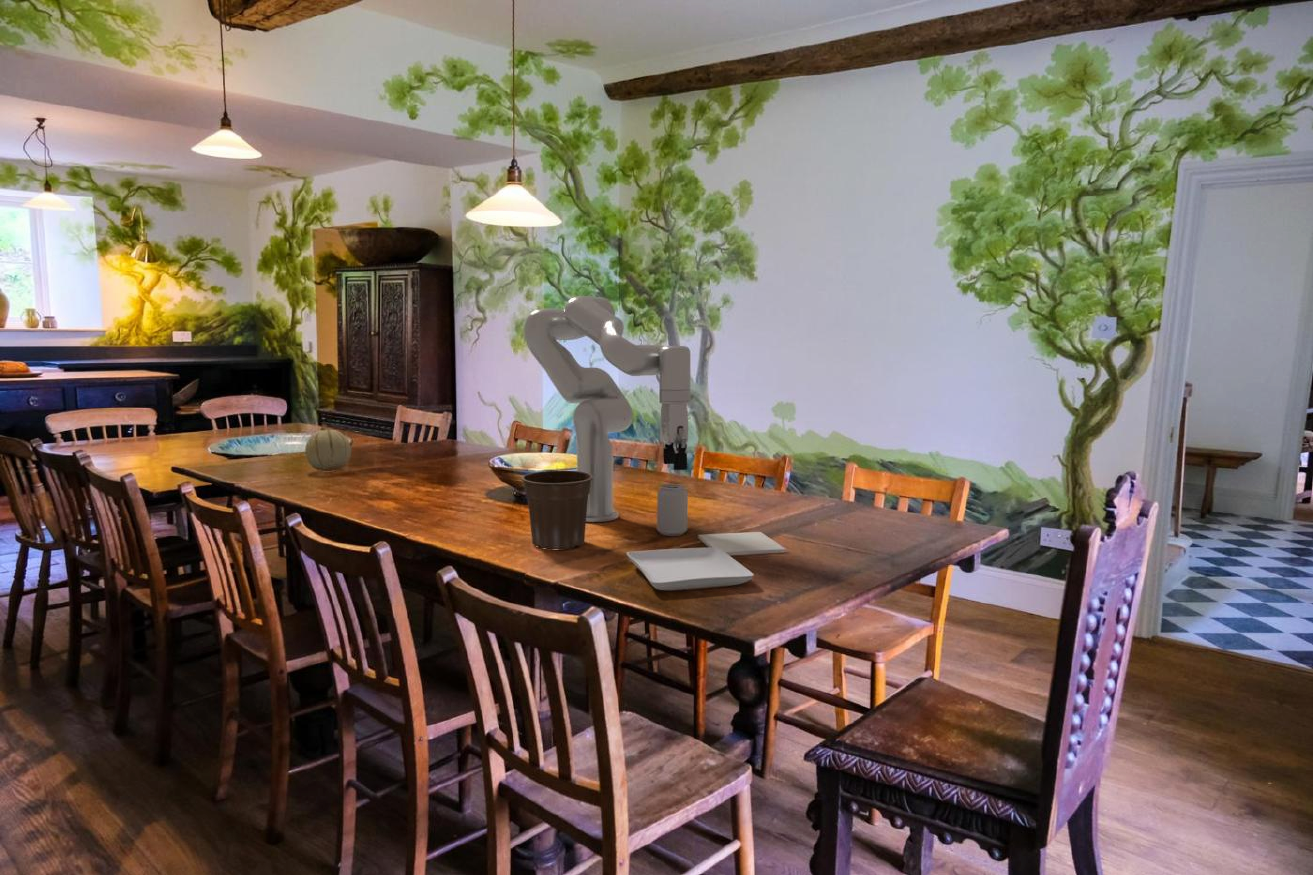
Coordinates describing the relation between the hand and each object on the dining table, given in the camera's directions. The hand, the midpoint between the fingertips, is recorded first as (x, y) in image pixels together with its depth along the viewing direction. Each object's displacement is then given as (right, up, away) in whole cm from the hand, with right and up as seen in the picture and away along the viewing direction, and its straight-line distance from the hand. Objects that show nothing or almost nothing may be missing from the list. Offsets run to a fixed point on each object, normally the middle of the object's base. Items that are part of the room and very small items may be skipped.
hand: (674, 466), depth 199 cm
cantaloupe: (-117, -5, +79) cm, 141 cm away
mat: (+15, -18, -8) cm, 25 cm away
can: (-1, -17, +3) cm, 17 cm away
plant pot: (-28, -18, -9) cm, 34 cm away
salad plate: (+2, -22, -33) cm, 39 cm away
